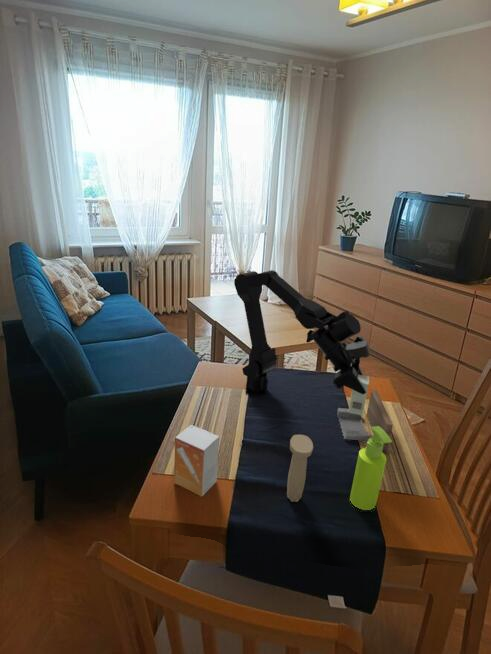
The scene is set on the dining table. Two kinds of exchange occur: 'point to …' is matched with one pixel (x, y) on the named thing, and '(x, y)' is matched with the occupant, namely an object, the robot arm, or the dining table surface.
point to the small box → (196, 460)
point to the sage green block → (359, 397)
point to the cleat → (352, 426)
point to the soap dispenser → (369, 471)
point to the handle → (298, 466)
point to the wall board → (379, 418)
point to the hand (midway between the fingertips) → (364, 389)
